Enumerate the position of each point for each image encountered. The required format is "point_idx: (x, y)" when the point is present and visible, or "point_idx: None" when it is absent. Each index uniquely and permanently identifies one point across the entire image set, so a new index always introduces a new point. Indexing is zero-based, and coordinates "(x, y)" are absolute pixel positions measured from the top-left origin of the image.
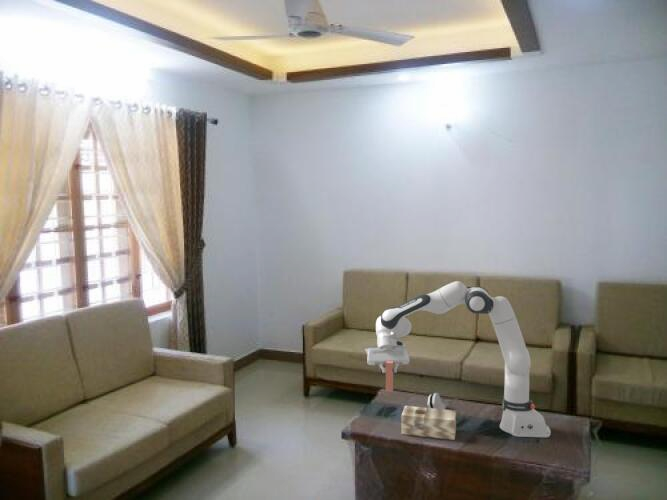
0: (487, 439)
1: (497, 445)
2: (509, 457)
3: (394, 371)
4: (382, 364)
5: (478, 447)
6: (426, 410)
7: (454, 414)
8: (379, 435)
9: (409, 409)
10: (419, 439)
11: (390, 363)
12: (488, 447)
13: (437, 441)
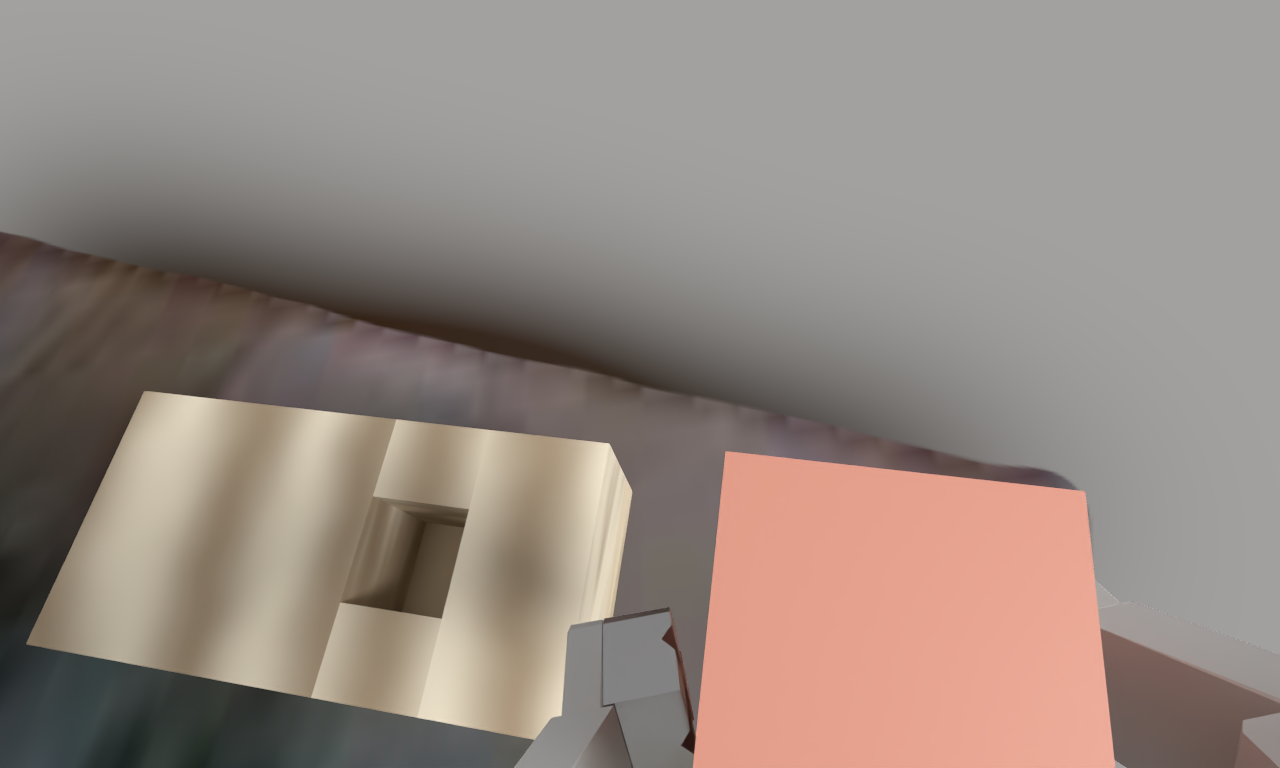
0: (33, 486)
1: (18, 405)
2: (36, 269)
3: (651, 616)
4: (1250, 723)
5: (147, 360)
6: (333, 606)
7: (89, 531)
8: (802, 442)
9: (514, 614)
10: (501, 418)
11: (817, 465)
12: (87, 369)
13: (381, 405)
